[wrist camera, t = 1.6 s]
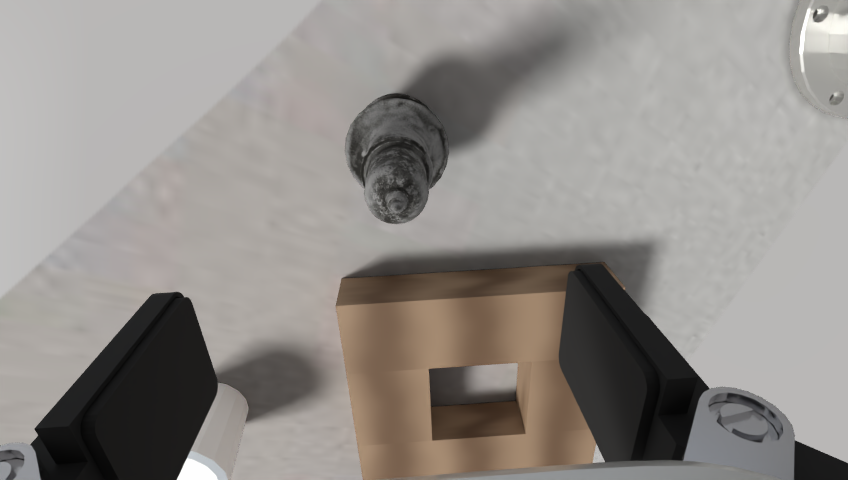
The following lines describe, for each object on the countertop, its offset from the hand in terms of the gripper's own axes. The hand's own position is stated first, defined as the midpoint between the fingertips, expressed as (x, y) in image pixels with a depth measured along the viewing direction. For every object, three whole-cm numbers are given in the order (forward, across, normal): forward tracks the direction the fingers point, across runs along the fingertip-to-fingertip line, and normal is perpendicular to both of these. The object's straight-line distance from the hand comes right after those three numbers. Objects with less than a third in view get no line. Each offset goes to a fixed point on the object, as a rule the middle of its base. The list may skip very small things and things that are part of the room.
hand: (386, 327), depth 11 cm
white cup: (+20, +17, +22) cm, 34 cm away
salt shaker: (+20, 0, 0) cm, 20 cm away
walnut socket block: (+19, -5, +20) cm, 28 cm away
